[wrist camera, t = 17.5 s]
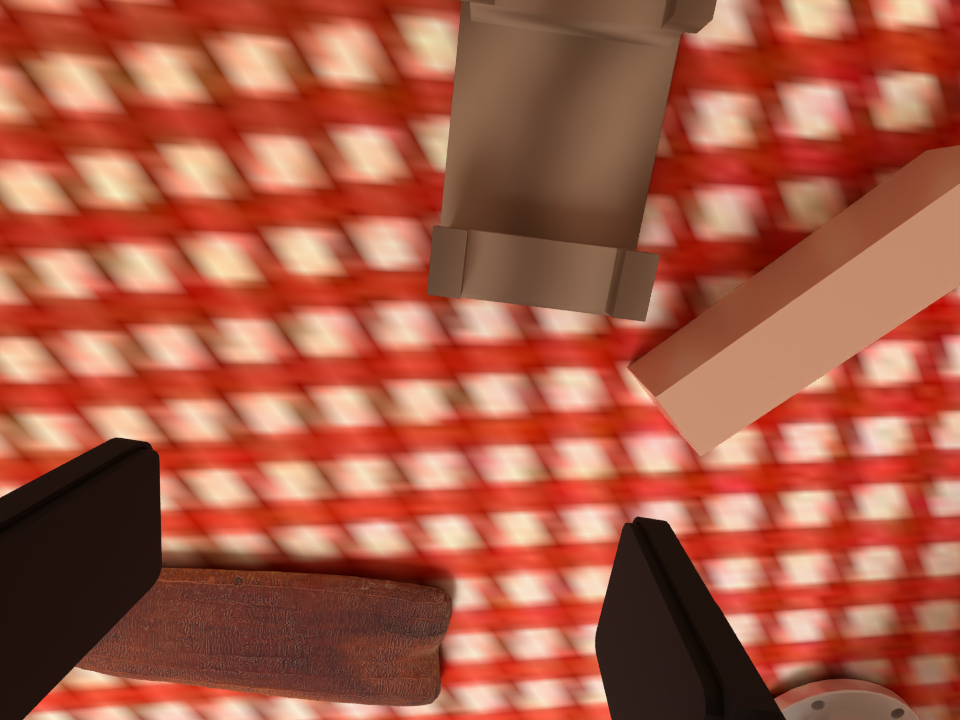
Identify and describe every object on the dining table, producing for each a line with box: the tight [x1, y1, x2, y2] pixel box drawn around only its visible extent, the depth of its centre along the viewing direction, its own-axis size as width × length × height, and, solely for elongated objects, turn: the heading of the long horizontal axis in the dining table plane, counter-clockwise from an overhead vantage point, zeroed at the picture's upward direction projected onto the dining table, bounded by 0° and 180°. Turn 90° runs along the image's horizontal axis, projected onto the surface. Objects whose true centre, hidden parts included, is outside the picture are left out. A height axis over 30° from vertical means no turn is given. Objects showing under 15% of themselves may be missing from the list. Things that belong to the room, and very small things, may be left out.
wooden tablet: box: [75, 568, 451, 706], centre depth 32 cm, size 27×10×2 cm, turn 85°
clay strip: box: [627, 145, 960, 456], centre depth 24 cm, size 4×18×5 cm, turn 129°
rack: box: [427, 0, 717, 321], centre depth 22 cm, size 10×16×4 cm, turn 173°
